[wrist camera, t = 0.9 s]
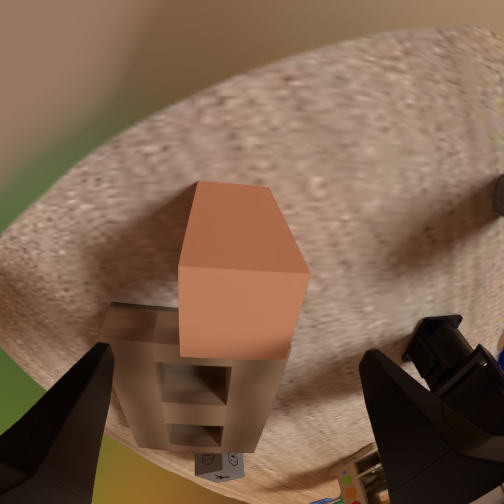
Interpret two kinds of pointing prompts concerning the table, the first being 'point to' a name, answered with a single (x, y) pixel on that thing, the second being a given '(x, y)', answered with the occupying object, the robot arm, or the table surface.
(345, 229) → the table surface
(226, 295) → the pin
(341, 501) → the shape sorter
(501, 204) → the beverage cup
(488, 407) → the robot arm
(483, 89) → the table surface
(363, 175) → the table surface
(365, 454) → the pounding bench toy
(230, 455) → the dice cube
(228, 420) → the socket block
